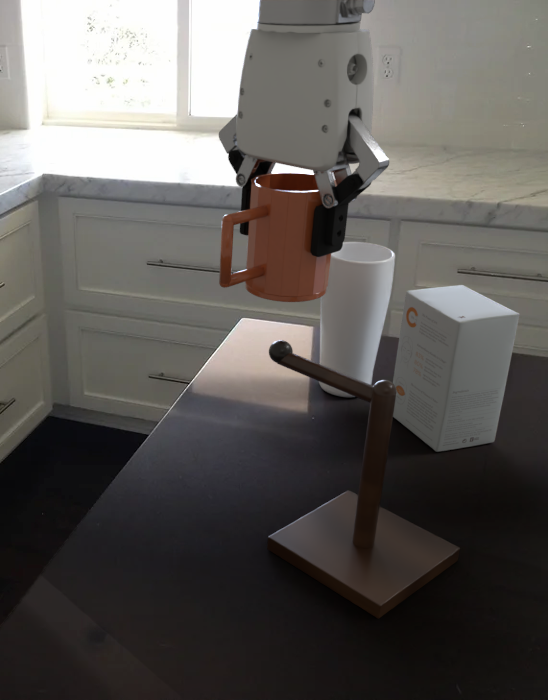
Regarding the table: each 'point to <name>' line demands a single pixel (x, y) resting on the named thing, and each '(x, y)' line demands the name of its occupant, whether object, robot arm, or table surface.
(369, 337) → the drinking glass
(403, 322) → the small box
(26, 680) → the table surface
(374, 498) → the mug stand
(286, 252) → the mug
